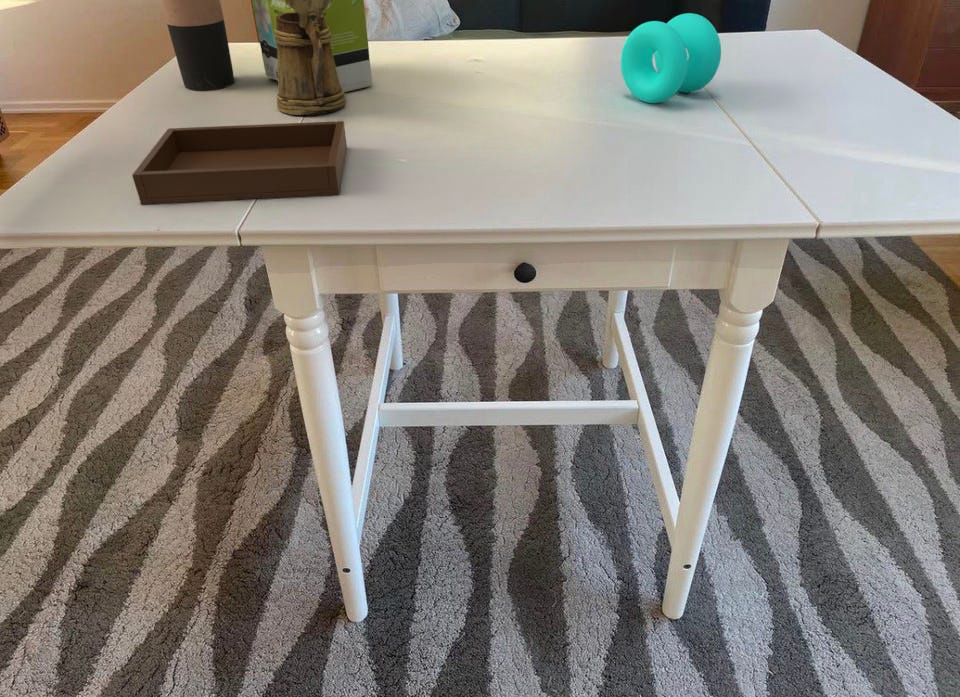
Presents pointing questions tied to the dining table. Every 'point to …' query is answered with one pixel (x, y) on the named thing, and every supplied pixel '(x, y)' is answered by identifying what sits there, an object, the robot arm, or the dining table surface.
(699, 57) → the donuts
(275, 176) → the serving tray
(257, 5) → the tea box
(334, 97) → the wooden mug
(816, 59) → the dining table surface
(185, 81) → the travel mug
